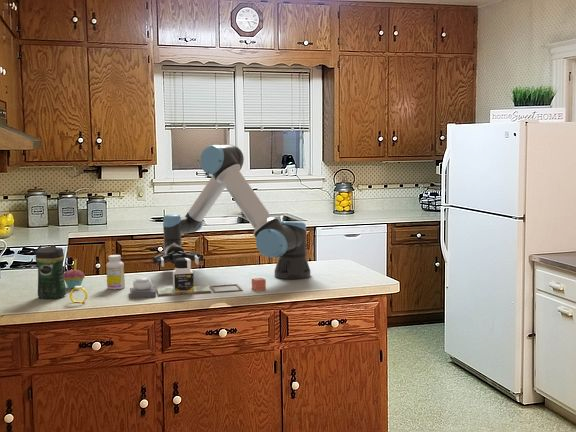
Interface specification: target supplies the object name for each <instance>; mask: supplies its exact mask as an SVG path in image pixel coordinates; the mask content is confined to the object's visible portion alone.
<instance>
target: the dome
mask: <svg viewBox="0 0 576 432" xmlns="http://www.w3.org/2000/svg"><path fill="white" fill-rule="evenodd" d="M132 282H133V283H132V285H133V287H132V288H134V289H136V290H145V289H150V288H152V287H153V286H152V285H153V283H152V280H151V279H150V278H149V277H137V278H134V280H133V281H132Z"/></svg>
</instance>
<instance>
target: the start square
mask: <svg viewBox="0 0 576 432" xmlns="http://www.w3.org/2000/svg"><path fill="white" fill-rule="evenodd" d="M231 286H232V287H233V286H236V287H237V288H238V289H232V290H231V289H230V290H215V289H214V288H218V287H219V288H220V287H231ZM209 287H210V290H212V292H213V293H214V294H216V293H218V294H219V293H231V292H233V293H234V292H243V288H241V286H240V285H239V284H238V283H234V284H232V283H231V284H217V285H210V286H209Z"/></svg>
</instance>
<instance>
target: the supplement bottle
mask: <svg viewBox="0 0 576 432" xmlns="http://www.w3.org/2000/svg"><path fill="white" fill-rule="evenodd" d="M107 257H108V262H107V263H106V264H105V267H106V286H107V287H106V288H107V289H108V290H111V289H114V290H113V291H115V290H116V289H118V290H121V289H124V288H125V285H126V284H125V264H124V262H123V261H122V260H121V259H122V257H121V254H110V255H108V256H107Z"/></svg>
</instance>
